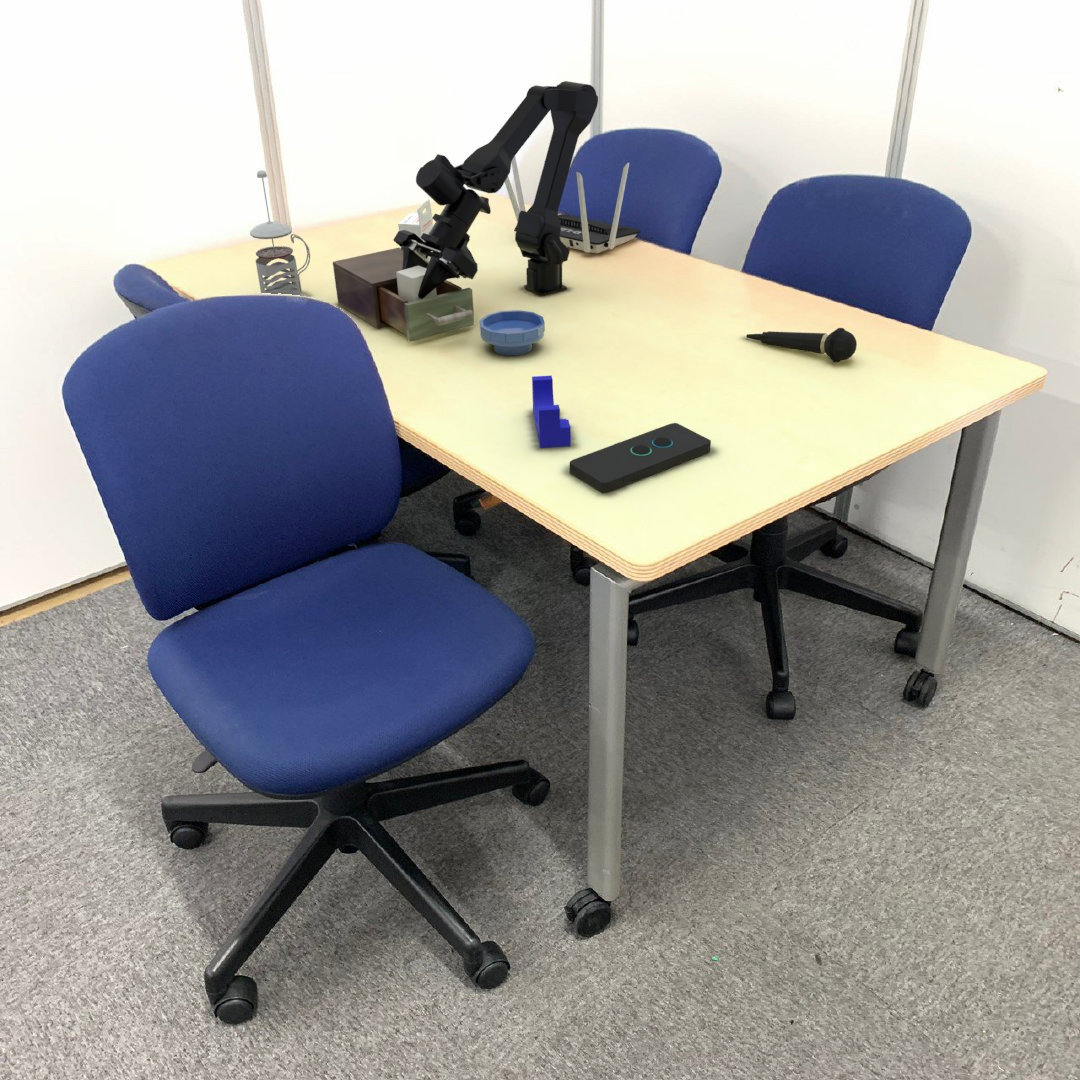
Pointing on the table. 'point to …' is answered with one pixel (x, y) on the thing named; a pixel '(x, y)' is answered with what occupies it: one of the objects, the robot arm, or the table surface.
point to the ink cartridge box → (418, 222)
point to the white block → (411, 283)
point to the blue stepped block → (548, 415)
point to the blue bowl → (512, 331)
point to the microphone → (813, 342)
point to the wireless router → (582, 220)
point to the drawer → (427, 310)
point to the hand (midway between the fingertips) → (411, 294)
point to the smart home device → (639, 457)
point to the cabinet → (366, 282)
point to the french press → (277, 257)
